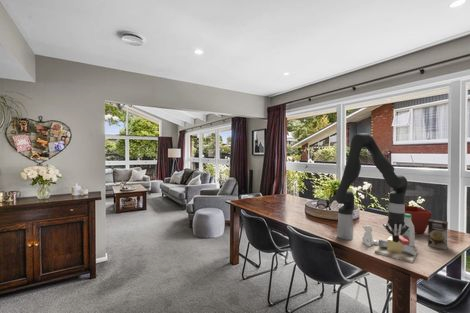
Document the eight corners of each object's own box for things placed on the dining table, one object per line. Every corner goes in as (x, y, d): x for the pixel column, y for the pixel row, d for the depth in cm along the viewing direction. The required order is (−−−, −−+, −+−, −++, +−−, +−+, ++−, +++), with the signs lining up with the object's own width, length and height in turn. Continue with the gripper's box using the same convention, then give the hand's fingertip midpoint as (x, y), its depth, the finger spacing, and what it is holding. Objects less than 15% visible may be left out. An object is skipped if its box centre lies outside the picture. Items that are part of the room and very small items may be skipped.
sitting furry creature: (368, 247, 146) (368, 228, 146) (357, 242, 154) (357, 224, 154) (380, 245, 148) (380, 226, 148) (368, 240, 157) (368, 223, 156)
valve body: (377, 248, 140) (377, 236, 140) (381, 245, 145) (381, 234, 145) (412, 257, 128) (412, 244, 127) (415, 253, 132) (415, 241, 132)
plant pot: (432, 235, 165) (432, 212, 165) (402, 234, 169) (402, 211, 169) (417, 227, 184) (417, 206, 184) (390, 226, 188) (390, 205, 187)
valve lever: (391, 237, 138) (391, 232, 138) (398, 237, 137) (398, 232, 137) (402, 246, 124) (402, 241, 124) (410, 247, 123) (410, 241, 123)
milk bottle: (408, 242, 152) (408, 212, 152) (417, 247, 145) (417, 215, 145) (396, 242, 152) (396, 212, 152) (405, 247, 145) (405, 215, 144)
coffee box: (427, 245, 147) (427, 220, 147) (428, 243, 152) (428, 218, 151) (447, 249, 140) (447, 223, 140) (447, 246, 145) (447, 221, 145)
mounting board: (374, 252, 137) (374, 250, 137) (382, 245, 148) (382, 243, 148) (412, 263, 124) (412, 260, 124) (417, 253, 135) (417, 251, 135)
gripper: (387, 212, 126) (386, 243, 126) (413, 213, 124) (412, 245, 124) (380, 208, 133) (379, 238, 133) (404, 209, 132) (404, 240, 132)
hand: (395, 241), depth 129 cm, fingers closed
